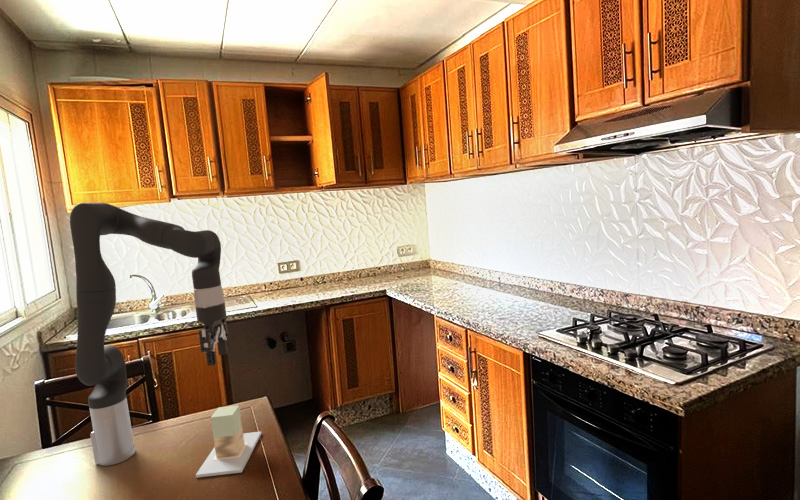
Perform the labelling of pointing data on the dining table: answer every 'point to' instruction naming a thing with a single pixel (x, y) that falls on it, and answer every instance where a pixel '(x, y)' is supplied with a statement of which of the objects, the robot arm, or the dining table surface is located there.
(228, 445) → the maple block
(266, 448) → the dining table surface
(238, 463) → the white rectangular board
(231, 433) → the sage block
